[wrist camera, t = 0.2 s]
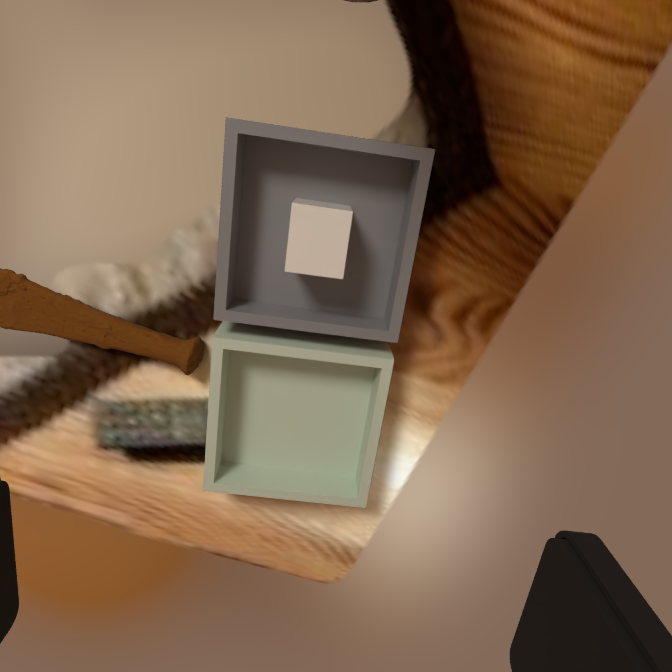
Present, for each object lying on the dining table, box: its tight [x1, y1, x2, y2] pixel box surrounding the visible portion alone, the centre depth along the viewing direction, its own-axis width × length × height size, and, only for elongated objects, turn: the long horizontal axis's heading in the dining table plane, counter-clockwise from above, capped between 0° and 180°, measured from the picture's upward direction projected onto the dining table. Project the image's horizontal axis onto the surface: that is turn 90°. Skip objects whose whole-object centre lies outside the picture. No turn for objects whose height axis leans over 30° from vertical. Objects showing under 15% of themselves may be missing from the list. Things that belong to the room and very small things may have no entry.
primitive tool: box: [0, 268, 205, 375], centre depth 43 cm, size 19×6×4 cm, turn 76°
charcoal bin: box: [214, 118, 435, 343], centre depth 40 cm, size 15×15×4 cm
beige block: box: [285, 198, 353, 279], centre depth 38 cm, size 5×4×5 cm
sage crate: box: [203, 321, 394, 508], centre depth 45 cm, size 15×15×4 cm
